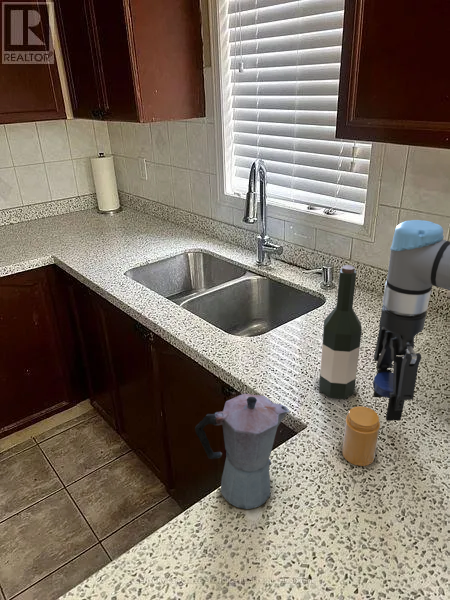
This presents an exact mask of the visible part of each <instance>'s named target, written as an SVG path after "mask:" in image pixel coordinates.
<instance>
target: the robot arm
mask: <svg viewBox="0 0 450 600" xmlns="http://www.w3.org/2000/svg"><path fill="white" fill-rule="evenodd" d="M389 248H390V249H389V250H390V254H389V255H390V256H389V261H388V270H387V276H386V277H387V278H386V282H385V284H384V291H383V292H384V293H383V296H382V304H383V305H382V306H381V313H380V318H379V324H378V325H379V326H378V327H379V330H378V334H377V339H376V344H375V350H374V355H373V361H374V362H376V368H377V370H376V375H377V374H379V373H382V372H391V373H393V392H390V393H389V395H390V397H389V398H388V404H387V409H386V414H385V420H386V421H387V422H391V421H393V422H394V421H402V416H403V411H404V407H405V401H412V400H414V394H415V389H416V383H417V376H418V370H419V365H420V363H421V360H422V354H421V353H419V352H418V353H417V352H415V350H414V347H415V337H416V336H417V335H418V334H420V333H421V332H422V331H423V330H424V328H425V323H426V318H427V311H428V307H429V301H430V298H431V297H430V296H431V295H432V294H433V291H432V289H433V286H434V287H438V288H442V289H444V290H448V291H450V241H449V240H446V239H444V228H443V227H442V225H440V224H438V223H434V222H433V221H429V220H423V219H411V220H405V221H402V222H401V223H399V224H398V225H396V227H395V229H394V233H393V238H392V242H391V246H390V247H389ZM392 370H393V371H392ZM373 397H374V398H384V397H383V396H381V395H379V394H378V393H377V392H376V391H375V390H374V389H373Z"/></svg>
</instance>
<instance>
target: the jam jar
mask: <svg viewBox="0 0 450 600" xmlns="http://www.w3.org/2000/svg"><path fill="white" fill-rule="evenodd" d="M344 423H345V424H344V430H343V431H344V432H343V440H342V448H341V454H342V456H343V458H344V459H345V460H346V461H347V462H348V463H349V464H352V465H354V466H358V467H366V466H370V465H371V464H373V463H374V461H375V459H376V454H377V453H376V452H377V446H378V441H379V434H380V429H381V423H380V417H379V415H378V412H376V411H375V410H374V409H372V408H370V407H366V406H361V405H359V406H354V407H352V408H350V409H349V410H348V413H347V415H346V417H345V421H344Z"/></svg>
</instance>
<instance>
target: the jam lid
mask: <svg viewBox="0 0 450 600" xmlns="http://www.w3.org/2000/svg"><path fill="white" fill-rule="evenodd" d="M372 388H373V391H374V390H375V391H376V392H377V393H378V394H379V395H381V396H383V397H382V398H386V399H389V397H390V395H389V393H390V392H393V372H392V373H391V372H382V373H379V374H377V373H376V375H375V376H374V377H373V380H372Z"/></svg>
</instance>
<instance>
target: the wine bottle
mask: <svg viewBox="0 0 450 600" xmlns="http://www.w3.org/2000/svg"><path fill="white" fill-rule="evenodd" d="M356 280H357V269H355V266H353V265H351V264H345V265H342V266H341V268H340V269H339V277H338V286H337V295H336V297H337V298H336V305H335V307H333V309H332V311H331V312H330V313H329V314H328V315H327V316H326V317H325V319H324V320H323V331H322V342H321V354H320V367H319V378H318V379H319V380H318V391H319V392H320V393H322V394H323V395H325V396H326V397H328V398H331V399H339V400H345V399H347V398H349V397H351V396H353V395H354V394H355V389H356V379H357V372H358V365H359V364H358V363H359V355H360V348H361V341H362V333H363V328H362V322H361V320H360V319H359V317H358V315H357V313H356V312H355V310H354V307H353V306H354V297H355V289H356Z"/></svg>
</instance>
